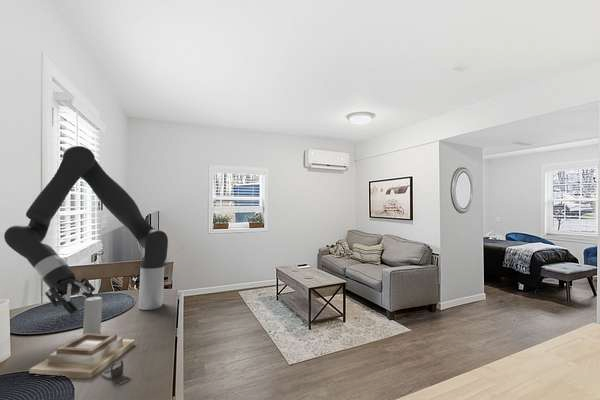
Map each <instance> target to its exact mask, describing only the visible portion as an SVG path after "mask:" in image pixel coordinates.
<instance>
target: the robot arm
mask: <svg viewBox="0 0 600 400" xmlns="http://www.w3.org/2000/svg"><path fill="white" fill-rule="evenodd" d="M80 178H81V179H82V180H84V182H86V184H87V185H89V187H90V188H91V190H92V191H93V193H94V194H95V196H96V197H97V198H98V200H99V201H100V203H102V204H103V206H104V207H105V208H106V210H108V211H109V212H110V213H111V214H112V215H113V216H114V217H115V218H116V219H117V220H118V221H119V222H120V223H121V224H122V225H123V226H124V227H126V228H127V229H128V230H129V231H130V233H131V234H132V235H133V236H134V238H135V239H136V240H137V242H138V243H139V245H140V246H141V247H142V248H143V249H144V254H143V255H144V257H143V259H142V260H141V261H140V268H139V269H140V274H139V288H138V290H139V291H138V305H137V306H138V307H137V309H138V310H142V311H150V310H155V309H156V310H157V309H159V308H161V307H162V306H163V303H164V301H163V300H164V289H165V288H164V286H165V282H164V280H165V279H164V277H165V263H166V260H167V257H168V245H169V239H168V235H167V234H166V232H164V231H162V230H159V229H156V228H154V227H153V226H151V224H149V223H148V221H146V219H145V218H144V216H143V215H142V213H141V211H140V208H139V207H138V205H137V203H136V202H135V200H134V199H133V198H132V197H131V195H130V194H129V193H128V192H127V191H126V190H125V189H124V188H123V187H122V186H121V185H119V183H118V182H116V180H114V179H113V178H112V177H111V176H110V175H108V173H107V172H106V171H105V170H104V169H103V168H102V166H101V165H100V164H99V162H98V161H97V160H96V158H95V154H94V153H93V151H92V150H91V149H89V148H88V147H86V146H82V145H73V146H72V145H71V146H70V147H68V148H66V150H65V151H64V152H63V154H62V160H61V162H60V165H59V166H58V168H57V171H56V172H55V174H54V175H53V177H52V178H51V179H50V181H49V182H48V183H47V185H46V186H44V188H43V189H42V190H41V192H40V193H39V194H38V195H37V197H36V198H35V199H34V201H33V202H32V204H31V205H30V206H29V208H28V209H27V211H26V213H25V216H26V218H28V219H29V222H28V225H24V224H23V225H22V224H18V225H13V226H10V227H8V228H7V229H6V230H5V232H4V233H3V234H4V236H3V237H4V241H5V243H6V244H7V246H8V247H10V248H11V249H12V250H13V251H14V252H16V253H17V254H18V255H19V256H21V257H24V259H26V260H27V262H28V263H29V264H30V265H31V266H32V268H33V269H34V270H35V272H36V273H37V275H38V276H39V277H40V279H41V280H42V281H43V282H44V283H45V285H47V287H48V288H49V289H48V290H47V291H46V292H45V293H44V294H45V295H46V297H47V299H48V300H49V301H50V302H51V304H52V305H53V306H54V307H55V308H57V307H59V306H60V307H63V308H64V310H66V311H67V312H68V313H69V314H70V315H74V314H75V313H77V311H78V310H79V309H78V307H77V306H76V305H75V304H74V302H73V301H72V300H71V297H72V296H77V297H78V296H82V297H84V298H85V299H87V298H89V297H95V295H94V294H93V292H94V291H95V290H96V288H95V287H94V285H92V284H91V283H90V282H89V280H88V279H87V278H86V277H82V278H81V279H80V280H77V278H76V273H75V272H74V270H72V268H71V267H70V265H68V264H67V262H65V260H64V258H62V257H61V256H59V255H58V253H57V252H56V251H55V250H54V249H53V247H51V246H50V245H49V244H46V243H43V240H44V239H45V238H46V236H47V234H48V231H49V227H50V226H51V225H50V224H51V220H52V219H53V218H54V216H55V215H56V214H57V212H58V211H59V209H60V207H61V206H62V205H63V203H64V202H65V200H66V198H67V196H68V195H69V193H70V192H71V190H72V188H74V186H75V184H76V183H77V182H78V181H79V180H80Z"/></svg>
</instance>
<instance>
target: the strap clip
mask: <svg viewBox="0 0 600 400" xmlns="http://www.w3.org/2000/svg"><path fill="white" fill-rule="evenodd" d="M118 364H120V365H119V366H117V367H115V368H114V366H116V365H118ZM101 377H102V378H104V379H106V380H111V381H112V383H114V384H115V385H117V386H124V385H126V384H127V383H130V382H131V381H132V379H131V378H130V377H129V376H125V375H124V361H123V360H119V361H117V362H114V363H113V364H110V368H109V369H108V370H106V371H104V372H102V373H101Z"/></svg>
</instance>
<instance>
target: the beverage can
mask: <svg viewBox="0 0 600 400" xmlns="http://www.w3.org/2000/svg"><path fill="white" fill-rule="evenodd" d="M94 296H95V295H94ZM102 312H103V297H102V296H98V295H97V296H95V297H89V298H87V299H86V298H85V300H84V307H83V327H82V328H83V329H82V335H83V334H85V333H96V334H101V328H102Z"/></svg>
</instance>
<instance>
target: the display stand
mask: <svg viewBox="0 0 600 400" xmlns="http://www.w3.org/2000/svg"><path fill="white" fill-rule="evenodd" d="M135 343H136V339H128V338H126V339H125V338H124V337H121V336H118V334H111V333H99V334H96V333H85V334H83V333H82V334H81V335H79V336H78V337H76V338H74V339H72V340H70V341H69V342H66V343H65V344H63V345H60V346H59V347H58V348H56V350H55V351H53V352H52V353H50V354H48V357H47V358H46V359H45V360H42V361H41V362H39V363H38V364H35V365H34V366H32V367H30V368H29V373H36V374H47V375H62V376H66V377H65V378H72V379H73V378H74V379H75V378H76V379H92V378H93V377H94V376H96V375H97V374H98V373H100V372H101V371H102V370H104V369H105V368H106V367H108V366H109V365H111V363H113V362H114V361H116V360H117V359H118V358H119V357H121V356H122V355H123V354H125V353H126V352H127V351H129V350H130V349H131V348H133V347H134V346H135ZM29 373H28V374H29Z"/></svg>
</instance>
